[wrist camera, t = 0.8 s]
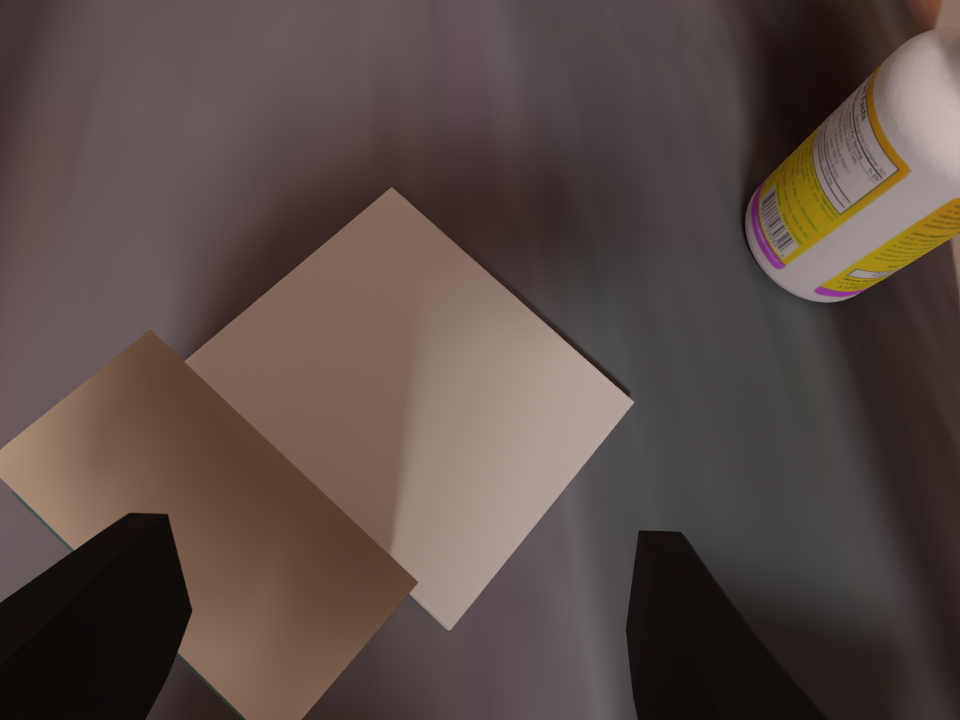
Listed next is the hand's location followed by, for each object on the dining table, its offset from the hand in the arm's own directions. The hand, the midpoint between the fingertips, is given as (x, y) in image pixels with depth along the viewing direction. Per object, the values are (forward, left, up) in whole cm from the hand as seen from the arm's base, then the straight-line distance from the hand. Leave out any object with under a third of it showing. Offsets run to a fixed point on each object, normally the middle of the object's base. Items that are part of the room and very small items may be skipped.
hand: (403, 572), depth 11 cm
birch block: (-2, +3, -14) cm, 15 cm away
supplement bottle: (+24, -5, -14) cm, 29 cm away
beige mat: (+6, +3, -14) cm, 16 cm away
